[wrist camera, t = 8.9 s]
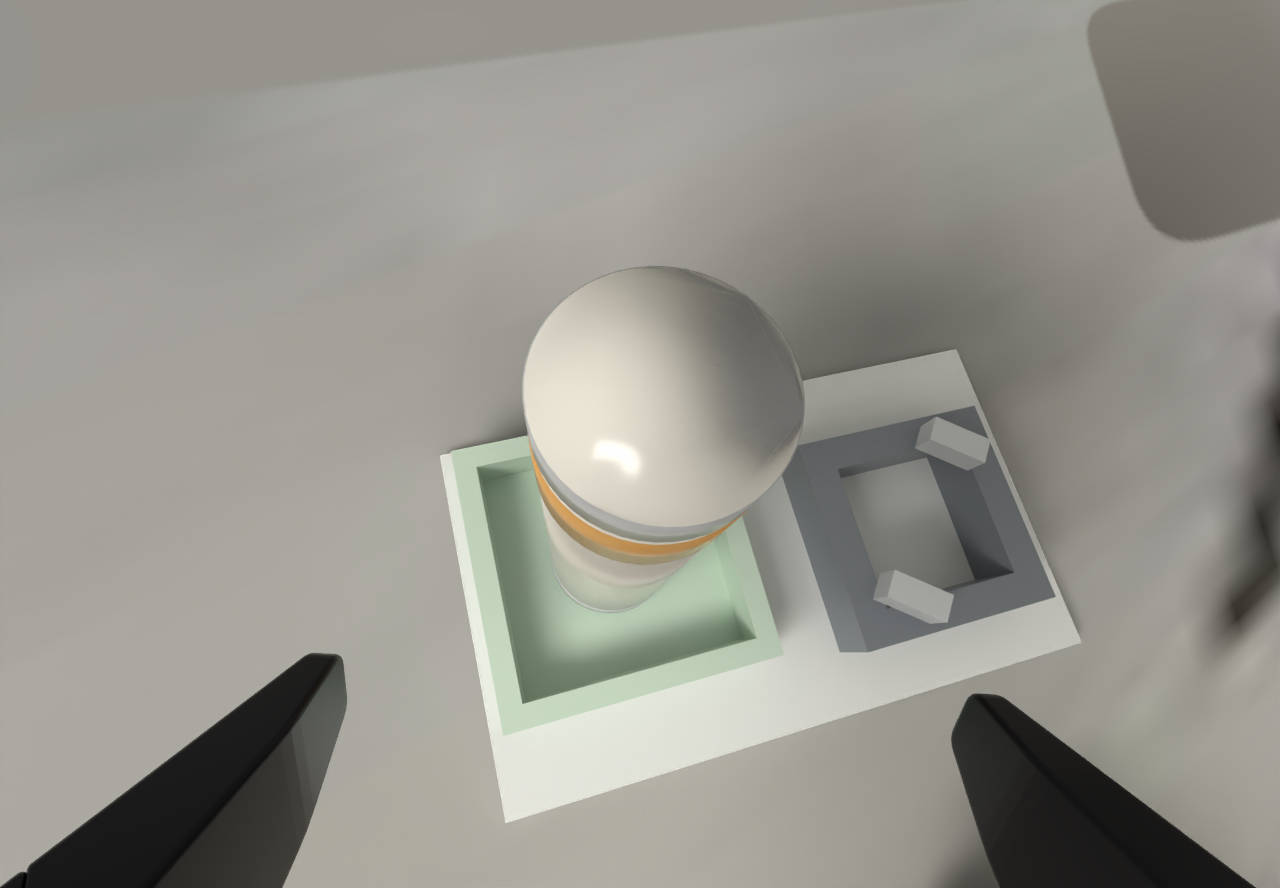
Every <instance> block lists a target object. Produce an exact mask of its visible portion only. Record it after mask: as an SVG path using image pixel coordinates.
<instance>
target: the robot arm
mask: <svg viewBox="0 0 1280 888" xmlns="http://www.w3.org/2000/svg"><path fill="white" fill-rule="evenodd" d="M346 705H347V693H346V683H345V674H344V664H343V660H342V658H341V656H339V655H337V654H325V653H310V654H308V655H306V656H304V657H303V658H301V659H300V660H299V661H297V662H296V663H295V664H294V665H292V666H291V667H290V668H288V669H287V670H286V671H284V672H283V673H282V674H280V675H279V676H278V677H276V678H275V679H274V680H272V681H271V682H270V683H269V684H267V685H266V686H265V687H263V688H262V689H261V690H259V691H258V692H257V693H255V694H254V695H253V696H251V697H250V698H249V699H247V700H246V701H245V702H243V703H242V704H241V705H240V706H238V707H237V708H236V709H234V710H233V711H232V712H230V713H229V714H228V715H226V716H225V717H224V718H222V719H221V720H220V721H218V722H217V723H216V724H215V725H213V726H212V727H211V728H209V729H208V730H207V731H205V732H204V733H203V734H201V735H200V736H199V737H197V738H196V739H195V740H193V741H192V742H191V743H189V744H188V745H187V746H186V747H184V748H183V749H182V750H180V751H179V752H178V753H176V754H175V755H174V756H172V757H171V758H170V759H168V760H167V761H166V762H164V763H163V764H162V765H161V766H159V767H158V768H157V769H155V770H154V771H153V772H151V773H150V774H149V775H147V776H146V777H145V778H143V779H142V780H141V781H139V782H138V783H137V784H135V785H134V786H133V787H132V788H130V789H129V790H128V791H126V792H125V793H124V794H122V795H121V796H120V797H118V798H117V799H116V800H114V801H113V802H112V803H110V804H109V805H108V806H107V807H105V808H104V809H103V810H101V811H100V812H99V813H97V814H96V815H95V816H93V817H92V818H91V819H89V820H88V821H87V822H85V823H84V824H83V825H81V826H80V827H79V828H78V829H76V830H75V831H74V832H72V833H71V834H70V835H68V836H67V837H66V838H64V839H63V840H62V841H60V842H59V843H58V844H56V845H55V846H54V847H53V848H51V849H50V850H49V851H47V852H46V853H45V854H43V855H42V856H41V857H39V858H38V859H37V860H35V861H34V862H33V863H31V864H30V865H29V867H28V869H27V873H26V872H20V873H18V874H17V875H15V876H14V877H13V878H11V879H10V880H9V881H7V882H6V883H5V884H3V885H2V886H1V887H0V888H282V887H283V885H284V883H285V880H286V878H287V876H288V874H289V871H290V869H291V867H292V864H293V862H294V860H295V858H296V855H297V853H298V851H299V849H300V846H301V844H302V841H303V839H304V836H305V834H306V832H307V829H308V826H309V823H310V820H311V817H312V814H313V812H314V808H315V805H316V802H317V799H318V796H319V793H320V790H321V787H322V784H323V781H324V778H325V774H326V771H327V768H328V765H329V762H330V759H331V756H332V753H333V750H334V747H335V744H336V740H337V737H338V734H339V731H340V728H341V725H342V722H343V719H344V715H345V711H346ZM951 742H952V748H953V752H954V755H955V758H956V762H957V765H958V768H959V771H960V774H961V777H962V781H963V784H964V787H965V790H966V793H967V796H968V799H969V803H970V806H971V809H972V812H973V815H974V818H975V822H976V825H977V828H978V831H979V834H980V837H981V840H982V843H983V846H984V849H985V852H986V854H987V857H988V860H989V862H990V865H991V867H992V870H993V872H994V875H995V877H996V880H997V882H998V885H999V887H1000V888H1256V887H1254V886H1253V885H1252V884H1250V883H1249V882H1248V881H1246V880H1245V879H1244V878H1242V877H1241V876H1240V875H1238V874H1237V873H1236V872H1234V871H1233V870H1232V869H1230V868H1229V867H1228V866H1226V865H1225V864H1224V863H1222V862H1221V861H1220V860H1218V859H1217V858H1216V857H1214V856H1213V855H1212V854H1210V853H1209V852H1208V851H1207V850H1205V849H1204V848H1203V847H1201V846H1200V845H1199V844H1197V843H1196V842H1195V841H1193V840H1192V839H1191V838H1189V837H1188V836H1187V835H1185V834H1184V833H1183V832H1181V831H1180V830H1179V829H1177V828H1176V827H1175V826H1173V825H1172V824H1171V823H1169V822H1168V821H1167V820H1165V819H1164V818H1163V817H1161V816H1160V815H1159V814H1157V813H1156V812H1155V811H1153V810H1152V809H1151V808H1150V807H1148V806H1147V805H1146V804H1144V803H1143V802H1142V801H1140V800H1139V799H1138V798H1136V797H1135V796H1134V795H1132V794H1131V793H1130V792H1128V791H1127V790H1126V789H1124V788H1123V787H1122V786H1120V785H1119V784H1118V783H1116V782H1115V781H1114V780H1112V779H1111V778H1110V777H1108V776H1107V775H1106V774H1104V773H1103V772H1102V771H1100V770H1099V769H1098V768H1097V767H1095V766H1094V765H1093V764H1091V763H1090V762H1089V761H1087V760H1086V759H1085V758H1083V757H1082V756H1081V755H1079V754H1078V753H1077V752H1075V751H1074V750H1073V749H1071V748H1070V747H1069V746H1067V745H1066V744H1065V743H1063V742H1062V741H1061V740H1059V739H1058V738H1057V737H1055V736H1054V735H1053V734H1051V733H1050V732H1049V731H1047V730H1046V729H1045V728H1044V727H1042V726H1041V725H1040V724H1038V723H1037V722H1036V721H1034V720H1033V719H1032V718H1030V717H1029V716H1028V715H1026V714H1025V713H1024V712H1022V711H1021V710H1020V709H1018V708H1017V707H1016V706H1014V705H1013V704H1012V703H1010V702H1009V701H1008V700H1006V699H1005V698H1003V697H1001V696H999V695H991V694H972V695H971V696H970V697H968V699H967V700H966V703H965V705H964V707H963V709H962V711H961V713H960V716H959V718H958V720H957V722H956V724H955V726H954V728H953V731H952V737H951Z"/></svg>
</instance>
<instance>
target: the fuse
mask: <svg viewBox="0 0 1280 888" xmlns="http://www.w3.org/2000/svg"><path fill="white" fill-rule="evenodd" d="M522 400H523V408H524V415H525V421H526V426H527V432H528V439H529V446H530V452H531V457H532V462H533V468H534V473H535V478H536V482H537V485H538V489H539V492H540V497H541V502H542V508H543V514H544V519H545V525H546V531H547V536H548V542H549V547H550V555H551V562H552V567H553V571H554V574H555V577H556V579H557V581H558V583H559V585H560V586H561V588H562V589H563V591H564V592H565V593H566V594H567V595H568V596H569V597H570V598H571V599H572V600H573V601H575V602H576V603H577V604H579V605H581V606H582V607H584V608H587V609H589V610H592V611H596V612H600V613H619V612H624V611H627V610H630V609H633V608H635V607H637V606H639V605H640V604H642V603H643V602H645V601H646V600H647V599H648V598H650V597H651V596H652V595H653V594H654V593H655V592H656V591H657V590H658V589H659V588H660V587H661V586H662V585H663V584H664V583H665V582H666V581H667V580H669V579H670V578H671V577H672V576H673V575H674V574H675V573H676V572H677V571H678V570H680V569H681V568H682V567H683V566H684V565H685V564H686V563H687V562H688V561H690V560H691V559H692V558H693V557H694V556H695V555H696V554H697V553H698V552H699V551H701V550H702V549H703V548H704V547H706V546H707V545H709V544H710V543H711V542H713V541H714V540H715V539H716V538H717V537H718V536H719V535H721V534H722V533H723V532H724V531H725V530H726V529H727V528H728V527H730V526H731V525H732V524H733V523H734V522H735V521H736V520H737V519H739V518H740V517H741V516H742V515H743V514H744V513H745V512H746V511H747V510H748V509H749V508H750V507H751V506H752V505H753V504H754V503H755V502H757V501H758V500H759V499H760V498H761V497H762V496H763V495H764V494H765V493H767V492H768V491H769V490H770V489H771V488H772V486H773V485H774V484H775V483H776V482H777V481H778V480H779V478H780V477H781V476H782V474H783V473H784V471H785V470H786V468H787V467H788V465H789V463H790V462H791V460H792V458H793V455H794V453H795V451H796V449H797V447H798V443H799V440H800V436H801V433H802V429H803V422H804V415H805V395H804V387H803V380H802V376H801V373H800V369H799V366H798V362H797V360H796V358H795V355H794V353H793V351H792V348H791V346H790V345H789V343H788V341H787V339H786V338H785V336H784V334H783V333H782V331H781V330H780V329H779V327H778V326H777V325H776V323H775V322H774V321H773V319H772V318H771V317H770V316H769V315H768V314H767V313H766V312H765V311H764V310H763V309H762V308H761V307H760V306H759V305H757V304H756V303H755V302H754V301H753V300H751V299H750V298H749V297H748V296H746V295H745V294H743V293H742V292H740V291H739V290H737V289H736V288H734V287H732V286H730V285H728V284H726V283H724V282H722V281H720V280H718V279H716V278H713V277H711V276H708V275H705V274H703V273H699V272H695V271H691V270H687V269H682V268H675V267H667V266H646V267H635V268H629V269H625V270H620V271H615V272H613V273H610V274H607V275H604V276H601V277H599V278H597V279H594V280H592V281H590V282H588V283H586V284H584V285H583V286H581V287H580V288H578V289H577V290H575V291H574V292H572V293H571V294H569V295H568V296H567V297H566V298H565V299H564V300H562V301H561V302H560V303H559V304H558V305H557V306H556V307H555V308H554V309H553V311H552V312H551V313H550V314H549V315H548V316H547V317H546V319H545V320H544V322H543V323H542V325H541V326H540V328H539V329H538V331H537V333H536V335H535V337H534V339H533V341H532V343H531V345H530V348H529V351H528V355H527V358H526V361H525V366H524V372H523V378H522Z"/></svg>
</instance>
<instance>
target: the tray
mask: <svg viewBox="0 0 1280 888" xmlns="http://www.w3.org/2000/svg"><path fill="white" fill-rule="evenodd" d="M451 456H452V461H453V467H454V472H455V478H456V483H457V488H458V494H459V499H460V505H461V510H462V516H463V521H464V526H465V532H466V537H467V543H468V548H469V553H470V559H471V564H472V570H473V575H474V581H475V586H476V591H477V597H478V602H479V608H480V613H481V619H482V624H483V629H484V635H485V640H486V646H487V651H488V657H489V662H490V667H491V673H492V678H493V684H494V689H495V694H496V700H497V705H498V711H499V716H500V722H501V727H502V732H503V736H505V735H509V734H512V733H516V732H519V731H522V730H526V729H529V728H533V727H536V726H540V725H543V724H547V723H550V722H554V721H557V720H561V719H564V718H567V717H571V716H574V715H578V714H581V713H585V712H588V711H592V710H595V709H599V708H602V707H606V706H609V705H613V704H616V703H619V702H623V701H626V700H630V699H633V698H637V697H640V696H644V695H647V694H651V693H654V692H658V691H661V690H665V689H668V688H671V687H675V686H678V685H682V684H685V683H689V682H692V681H696V680H699V679H703V678H706V677H710V676H713V675H716V674H720V673H723V672H727V671H730V670H734V669H737V668H741V667H744V666H748V665H751V664H755V663H758V662H762V661H765V660H768V659H772V658H775V657H779V656H782V655H784V652H783V649H782V646H781V643H780V639H779V636H778V633H777V629H776V626H775V623H774V620H773V616H772V613H771V610H770V606H769V603H768V600H767V597H766V593H765V590H764V587H763V584H762V580H761V577H760V574H759V570H758V567H757V564H756V561H755V557H754V554H753V551H752V547H751V544H750V541H749V538H748V534H747V531H746V528H745V524H744V521H743V518H742V516H741V517H740V518H739V519H737V520H736V521H735V522H734V523H733V524H732V525H731V526H730V527H728V528H727V529H726V530H725V531H724V532H723V533H722V534H721V535H719V536H718V537H717V538H716V539H715V540H714V541H713V542H711V543H710V544H709V545H707V546H706V547H704V548H703V549H702V550H701V551H699V552H698V553H697V554H696V555H695V556H694V557H693V558H692V559H691V560H690V561H688V562H687V563H686V564H685V565H684V566H683V567H682V568H681V569H680V570H678V571H677V572H676V573H675V574H674V575H673V576H672V577H671V578H670V579H669V580H667V581H666V582H665V583H664V584H663V585H662V586H661V587H660V588H659V589H658V590H657V591H656V592H655V593H654V594H653V595H652V596H651V597H650V598H648V599H647V600H646V601H645V602H643V603H642V604H640V605H639V606H637V607H635V608H633V609H630V610H627V611H624V612H619V613H600V612H596V611H592V610H589V609H587V608H584V607H582V606H581V605H579V604H577V603H576V602H575V601H573V600H572V599H571V598H570V597H569V596H568V595H567V594H566V593H565V592H564V591H563V589H562V588H561V586H560V585H559V583H558V581H557V579H556V577H555V574H554V571H553V567H552V562H551V555H550V547H549V542H548V536H547V531H546V525H545V519H544V514H543V508H542V502H541V497H540V492H539V489H538V485H537V482H536V478H535V473H534V468H533V462H532V457H531V452H530V446H529V439H528V435H527V436H522V437H517V438H512V439H507V440H502V441H498V442H493V443H488V444H483V445H478V446H473V447H468V448H464V449H459V450H454V451H451Z"/></svg>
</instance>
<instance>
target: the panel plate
mask: <svg viewBox="0 0 1280 888" xmlns="http://www.w3.org/2000/svg"><path fill="white" fill-rule="evenodd" d="M803 387H804V395H805V415H804V422H803V429H802V433H801V436H800V440H799V443H798V445H802V444H807V443H811V442H816V441H820V440H825V439H829V438H833V437H838V436H842V435H847V434H851V433H856V432H860V431H864V430H869V429H873V428H878V427H882V426H887V425H891V424H895V423H900V422H904V421H909V420H913V419H918V418H922V417H927V416H931V415H935V414H940V413H944V412H949V411H953V410H958V409H962V408H966V407H971V406H975V408H976V410H977V412H978V415H979V417H980V420H981V422H982V424H983V427H984V429H985V431H986V434H987V436H988V438H989V439H990V443H991V445H992V448H993V450H994V452H995V455H996V457H997V459H998V462H999V464H1000V467H1001V469H1002V471H1003V474H1004V476H1005V478H1006V481H1007V483H1008V485H1009V488H1010V490H1011V492H1012V495H1013V497H1014V499H1015V502H1016V504H1017V507H1018V509H1019V511H1020V514H1021V516H1022V518H1023V521H1024V523H1025V525H1026V528H1027V530H1028V532H1029V535H1030V537H1031V539H1032V542H1033V544H1034V546H1035V549H1036V551H1037V554H1038V556H1039V558H1040V561H1041V563H1042V565H1043V568H1044V570H1045V572H1046V575H1047V577H1048V579H1049V582H1050V584H1051V586H1052V589H1053V591H1054V594H1055V596H1056V597H1054V598H1051V599H1047V600H1044V601H1041V602H1037V603H1034V604H1030V605H1027V606H1024V607H1020V608H1017V609H1014V610H1010V611H1007V612H1003V613H1000V614H997V615H993V616H990V617H986V618H983V619H980V620H976V621H973V622H970V623H966V624H963V625H959V626H956V627H953V628H949V629H946V630H942V631H939V632H936V633H932V634H929V635H926V636H922V637H919V638H915V639H912V640H909V641H905V642H902V643H898V644H895V645H892V646H888V647H885V648H882V649H878V650H875V651H871V652H840V651H839V648H838V645H837V642H836V639H835V636H834V633H833V630H832V627H831V624H830V621H829V618H828V615H827V611H826V608H825V605H824V602H823V599H822V596H821V593H820V590H819V587H818V584H817V581H816V578H815V575H814V572H813V569H812V566H811V563H810V560H809V557H808V553H807V550H806V547H805V544H804V541H803V538H802V535H801V532H800V529H799V526H798V523H797V520H796V517H795V514H794V511H793V508H792V505H791V502H790V499H789V496H788V492H787V489H786V486H785V483H784V480H783V477H782V476H781V477H780V478H779V480H778V481H777V482H776V483H775V484H774V485H773V486H772V488H771V489H770V490H769V491H768V492H767V493H765V494H764V495H763V496H762V497H761V498H760V499H759V500H758V501H757V502H755V503H754V504H753V505H752V506H751V507H750V508H749V509H748V510H747V511H746V512H745V513H744V514H743V515H742V518H743V521H744V524H745V528H746V531H747V534H748V538H749V541H750V544H751V547H752V551H753V554H754V557H755V561H756V564H757V567H758V570H759V574H760V577H761V580H762V584H763V587H764V590H765V593H766V597H767V600H768V603H769V606H770V610H771V613H772V616H773V620H774V623H775V626H776V629H777V633H778V636H779V639H780V643H781V646H782V649H783V652H784V655H782V656H779V657H775V658H772V659H768V660H765V661H762V662H758V663H755V664H751V665H748V666H744V667H741V668H737V669H734V670H730V671H727V672H723V673H720V674H716V675H713V676H710V677H706V678H703V679H699V680H696V681H692V682H689V683H685V684H682V685H678V686H675V687H671V688H668V689H665V690H661V691H658V692H654V693H651V694H647V695H644V696H640V697H637V698H633V699H630V700H626V701H623V702H619V703H616V704H613V705H609V706H606V707H602V708H599V709H595V710H592V711H588V712H585V713H581V714H578V715H574V716H571V717H567V718H564V719H561V720H557V721H554V722H550V723H547V724H543V725H540V726H536V727H533V728H529V729H526V730H522V731H519V732H516V733H512V734H509V735H505V736H503V732H502V727H501V722H500V716H499V711H498V705H497V700H496V694H495V689H494V684H493V678H492V673H491V667H490V662H489V657H488V651H487V646H486V640H485V635H484V629H483V624H482V619H481V613H480V608H479V602H478V597H477V591H476V586H475V581H474V575H473V570H472V564H471V559H470V553H469V548H468V543H467V537H466V532H465V526H464V521H463V516H462V510H461V505H460V499H459V494H458V488H457V483H456V478H455V472H454V467H453V461H452V456H451V453H449V454H444V455H440V460H441V465H442V471H443V476H444V482H445V487H446V493H447V499H448V504H449V510H450V515H451V521H452V527H453V532H454V538H455V543H456V549H457V554H458V560H459V566H460V571H461V577H462V582H463V588H464V593H465V599H466V605H467V610H468V616H469V621H470V627H471V633H472V638H473V644H474V649H475V655H476V660H477V666H478V672H479V677H480V683H481V688H482V694H483V699H484V705H485V711H486V716H487V722H488V727H489V733H490V739H491V744H492V750H493V755H494V761H495V766H496V772H497V778H498V783H499V789H500V794H501V800H502V805H503V811H504V817H505V822H506V823H508V822H511V821H514V820H517V819H521V818H524V817H527V816H530V815H533V814H537V813H540V812H543V811H546V810H549V809H553V808H556V807H559V806H562V805H565V804H569V803H572V802H575V801H578V800H581V799H584V798H588V797H591V796H594V795H597V794H600V793H604V792H607V791H610V790H613V789H616V788H620V787H623V786H626V785H629V784H632V783H636V782H639V781H642V780H645V779H648V778H651V777H655V776H658V775H661V774H664V773H667V772H671V771H674V770H677V769H680V768H683V767H687V766H690V765H693V764H696V763H699V762H703V761H706V760H709V759H712V758H715V757H719V756H722V755H725V754H728V753H731V752H734V751H738V750H741V749H744V748H747V747H750V746H754V745H757V744H760V743H763V742H766V741H770V740H773V739H776V738H779V737H782V736H786V735H789V734H792V733H795V732H798V731H801V730H805V729H808V728H811V727H814V726H817V725H821V724H824V723H827V722H830V721H833V720H837V719H840V718H843V717H846V716H849V715H853V714H856V713H859V712H862V711H865V710H869V709H872V708H875V707H878V706H881V705H884V704H888V703H891V702H894V701H897V700H900V699H904V698H907V697H910V696H913V695H916V694H920V693H923V692H926V691H929V690H932V689H936V688H939V687H942V686H945V685H948V684H951V683H955V682H958V681H961V680H964V679H967V678H971V677H974V676H977V675H980V674H983V673H987V672H990V671H993V670H996V669H999V668H1003V667H1006V666H1009V665H1012V664H1015V663H1019V662H1022V661H1025V660H1028V659H1031V658H1034V657H1038V656H1041V655H1044V654H1047V653H1050V652H1054V651H1057V650H1060V649H1063V648H1066V647H1070V646H1073V645H1076V644H1079V643H1082V642H1081V639H1080V637H1079V635H1078V632H1077V630H1076V628H1075V625H1074V623H1073V621H1072V618H1071V616H1070V614H1069V611H1068V609H1067V607H1066V604H1065V602H1064V600H1063V597H1062V595H1061V593H1060V590H1059V588H1058V586H1057V583H1056V581H1055V579H1054V576H1053V574H1052V572H1051V569H1050V567H1049V565H1048V562H1047V560H1046V558H1045V555H1044V553H1043V551H1042V548H1041V546H1040V543H1039V541H1038V539H1037V536H1036V534H1035V532H1034V529H1033V527H1032V525H1031V522H1030V520H1029V518H1028V515H1027V513H1026V511H1025V508H1024V506H1023V504H1022V501H1021V499H1020V497H1019V494H1018V492H1017V490H1016V487H1015V485H1014V483H1013V480H1012V478H1011V476H1010V473H1009V471H1008V469H1007V466H1006V464H1005V462H1004V459H1003V457H1002V455H1001V452H1000V450H999V448H998V445H997V443H996V441H995V438H994V436H993V434H992V431H991V429H990V427H989V424H988V422H987V420H986V417H985V415H984V413H983V410H982V408H981V406H980V403H979V401H978V399H977V396H976V394H975V392H974V389H973V387H972V385H971V382H970V380H969V378H968V375H967V373H966V371H965V368H964V366H963V364H962V361H961V359H960V357H959V354H958V352H957V350H956V349H954V350H949V351H944V352H939V353H934V354H929V355H925V356H920V357H915V358H910V359H905V360H900V361H895V362H891V363H886V364H881V365H876V366H871V367H866V368H861V369H857V370H852V371H847V372H842V373H837V374H832V375H827V376H823V377H818V378H813V379H808V380H803ZM841 480H842V482H843V485H844V488H845V491H846V494H847V497H848V499H849V502H850V505H851V508H852V511H853V514H854V516H855V519H856V522H857V525H858V528H859V531H860V533H861V536H862V539H863V542H864V545H865V548H866V550H867V553H868V556H869V559H870V562H871V565H872V567H873V570H874V573H875V576H876V579H877V582H878V579H879V575H880V573H883V572H887V571H891V570H897V571H899V572H902V573H904V574H906V575H909V576H911V577H913V578H916V579H918V580H920V581H923V582H925V583H927V584H930V585H932V586H934V587H937V588H939V589H943V588H946V587H950V586H954V585H957V584H961V583H964V582H968V581H971V580H975V578H974V576H973V573H972V571H971V568H970V566H969V563H968V561H967V558H966V555H965V553H964V550H963V548H962V545H961V543H960V540H959V538H958V535H957V533H956V530H955V528H954V525H953V523H952V520H951V517H950V515H949V512H948V510H947V507H946V505H945V502H944V500H943V497H942V495H941V492H940V490H939V487H938V484H937V482H936V479H935V477H934V474H933V472H932V469H931V467H930V464H929V462H928V459H927V458H923V459H918V460H914V461H910V462H906V463H902V464H897V465H893V466H889V467H885V468H881V469H876V470H872V471H868V472H864V473H860V474H855V475H851V476H847V477H843V478H841Z"/></svg>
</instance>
